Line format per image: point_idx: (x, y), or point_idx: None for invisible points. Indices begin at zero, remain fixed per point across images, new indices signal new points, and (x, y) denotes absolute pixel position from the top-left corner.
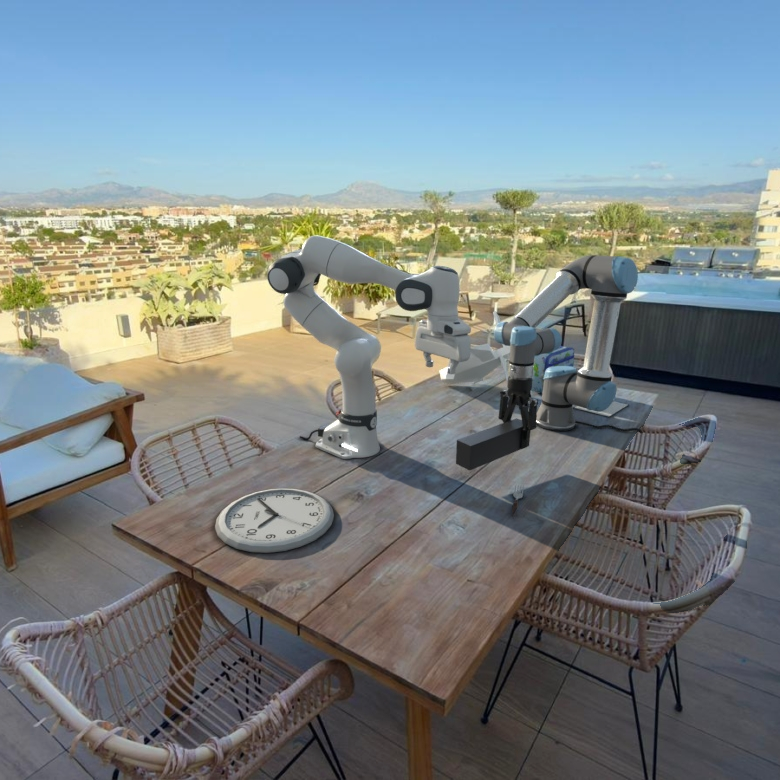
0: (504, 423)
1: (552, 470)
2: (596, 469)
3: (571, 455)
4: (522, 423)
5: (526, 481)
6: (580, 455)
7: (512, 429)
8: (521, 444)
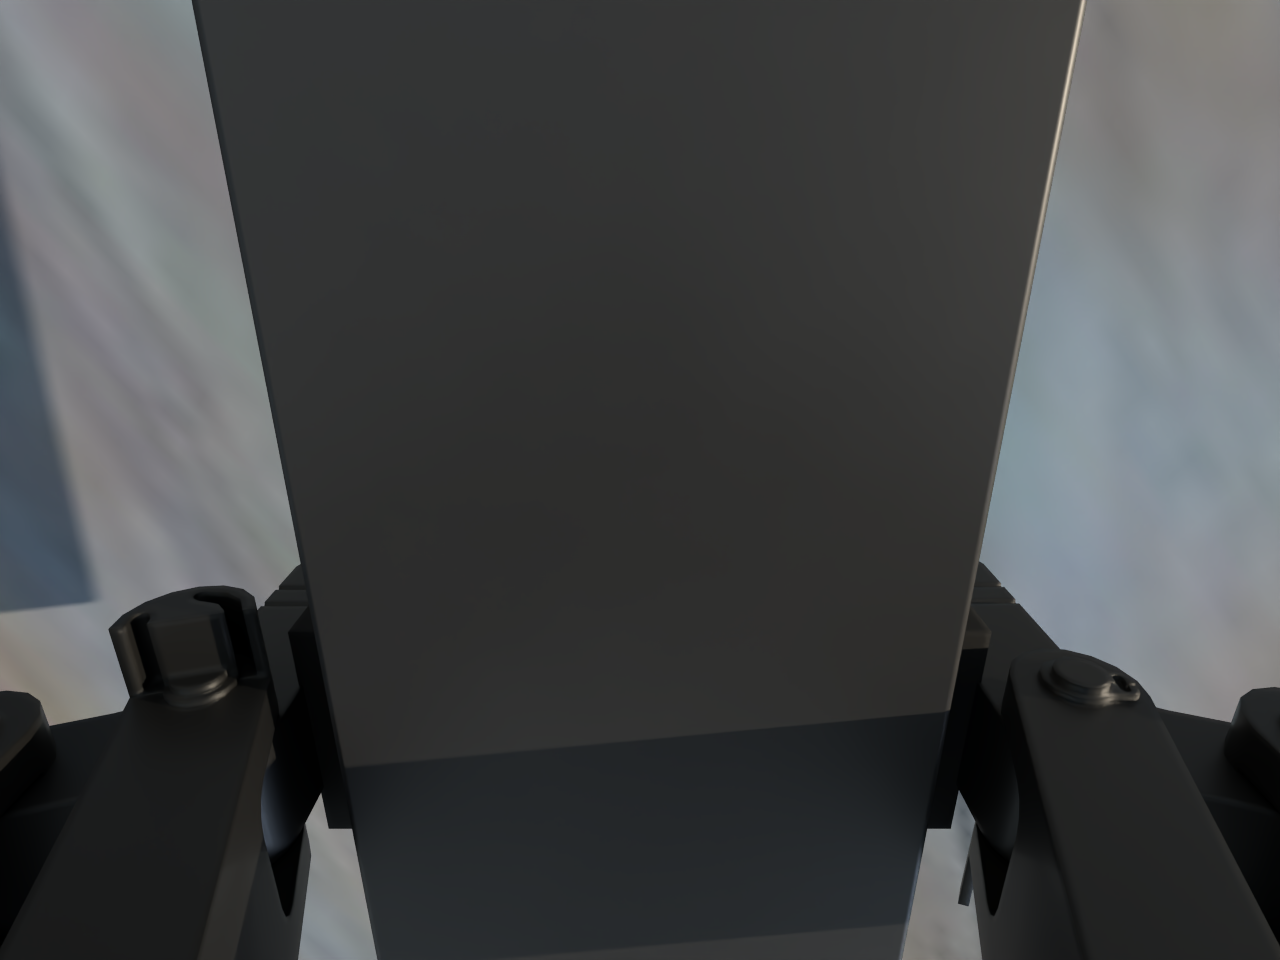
0: (931, 509)
1: (235, 558)
2: None
3: None
4: (236, 812)
5: (115, 49)
6: (368, 956)
7: (304, 267)
8: None
